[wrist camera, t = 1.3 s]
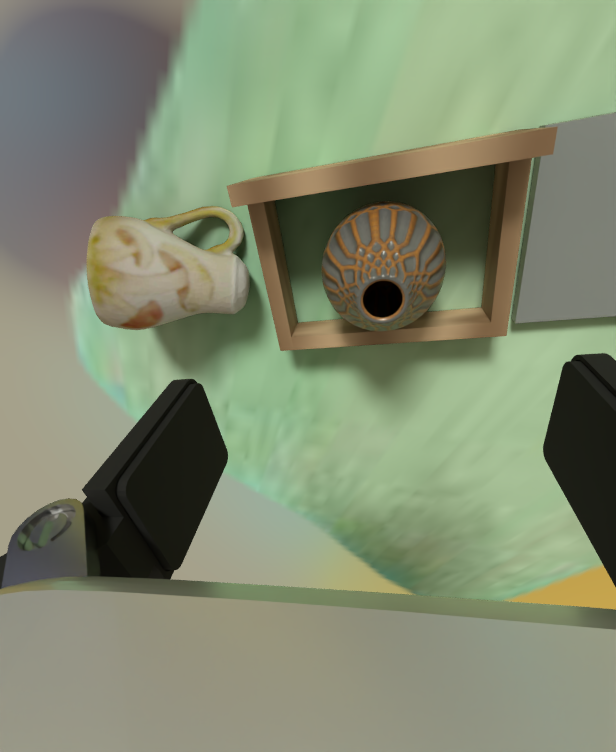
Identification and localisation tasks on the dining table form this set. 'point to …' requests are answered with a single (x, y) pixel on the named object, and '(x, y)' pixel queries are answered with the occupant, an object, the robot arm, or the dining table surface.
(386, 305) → the vase
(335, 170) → the wooden frame
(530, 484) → the dining table surface
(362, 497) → the dining table surface
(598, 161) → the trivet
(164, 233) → the mug
